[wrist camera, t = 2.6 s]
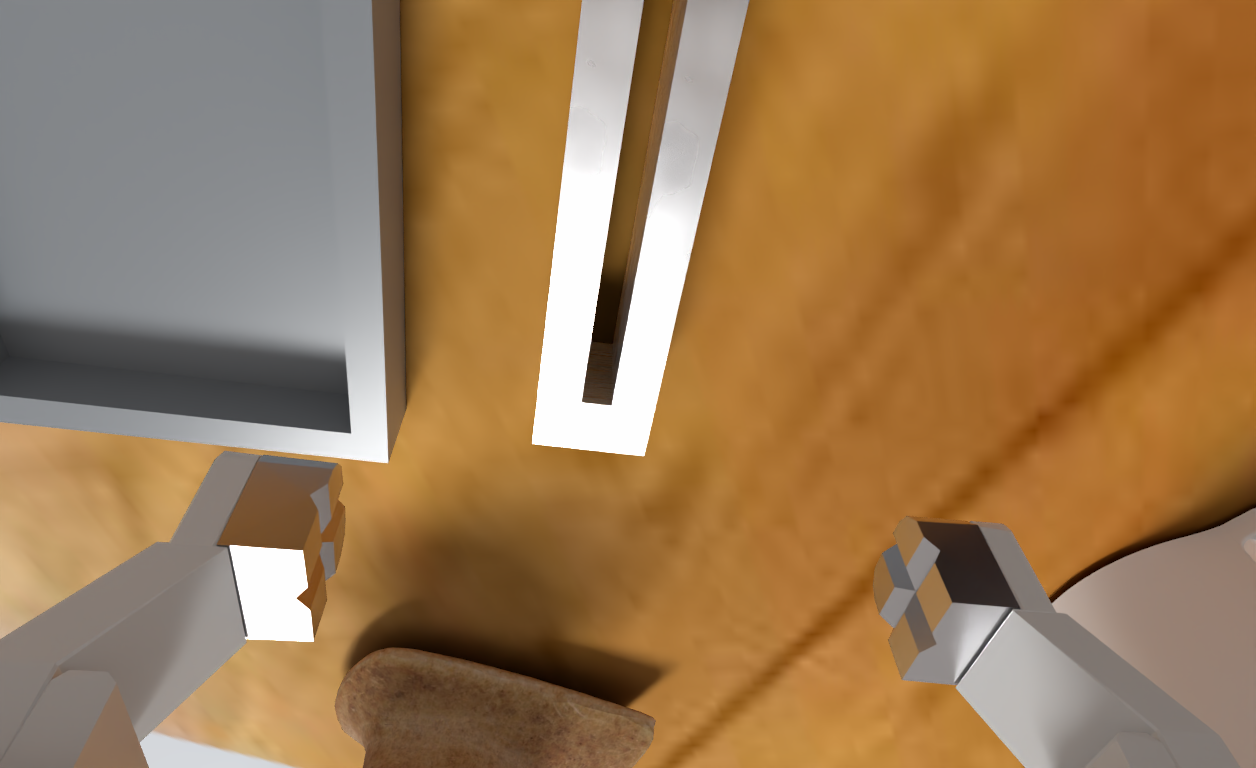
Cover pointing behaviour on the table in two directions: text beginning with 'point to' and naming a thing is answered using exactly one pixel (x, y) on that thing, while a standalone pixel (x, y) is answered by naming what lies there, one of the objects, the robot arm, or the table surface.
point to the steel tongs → (663, 227)
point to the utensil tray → (204, 221)
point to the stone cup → (480, 717)
